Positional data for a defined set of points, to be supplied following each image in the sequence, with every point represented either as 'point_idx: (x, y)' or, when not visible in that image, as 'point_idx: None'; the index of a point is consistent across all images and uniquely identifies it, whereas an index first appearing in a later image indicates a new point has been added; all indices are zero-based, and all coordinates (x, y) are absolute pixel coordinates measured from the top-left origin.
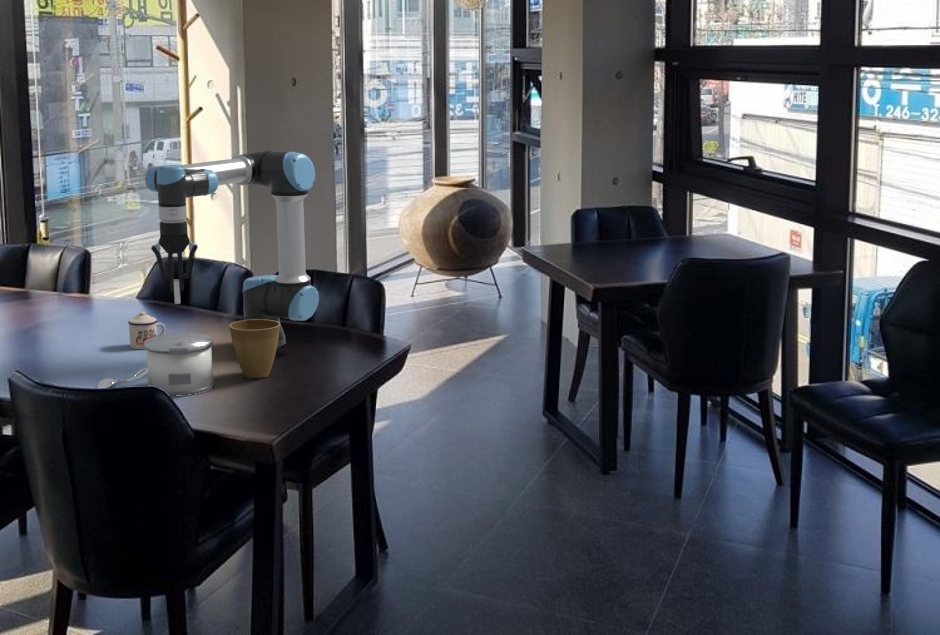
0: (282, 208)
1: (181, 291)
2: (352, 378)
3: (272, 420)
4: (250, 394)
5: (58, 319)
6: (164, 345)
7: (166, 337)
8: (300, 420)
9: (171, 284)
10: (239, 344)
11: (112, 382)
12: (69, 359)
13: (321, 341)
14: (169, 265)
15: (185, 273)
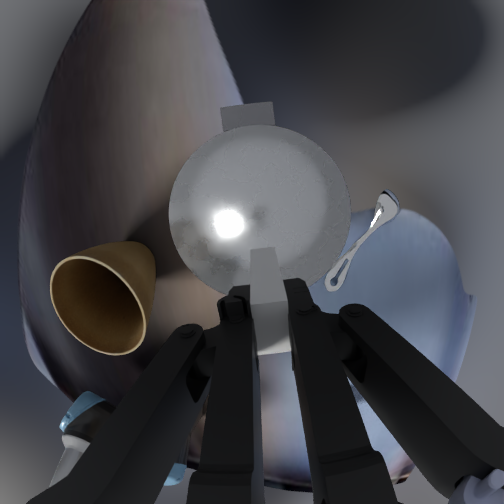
0: None
1: (241, 285)
2: (24, 238)
3: (97, 33)
4: (127, 149)
5: (398, 446)
6: (293, 157)
7: (298, 257)
8: (67, 43)
9: (300, 299)
10: (127, 257)
11: (380, 201)
12: (420, 347)
13: (109, 397)
14: (340, 385)
15: (209, 375)
